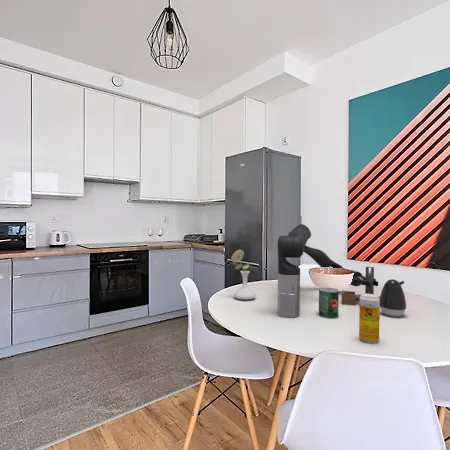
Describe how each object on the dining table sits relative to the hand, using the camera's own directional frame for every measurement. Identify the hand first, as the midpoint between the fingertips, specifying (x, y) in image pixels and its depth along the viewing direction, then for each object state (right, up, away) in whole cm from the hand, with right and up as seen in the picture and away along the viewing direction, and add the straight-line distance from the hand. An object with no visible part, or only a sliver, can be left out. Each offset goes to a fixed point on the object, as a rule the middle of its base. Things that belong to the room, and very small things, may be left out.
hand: (373, 284), depth 146 cm
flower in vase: (-60, -10, +12) cm, 62 cm away
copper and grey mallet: (-1, -10, +3) cm, 11 cm away
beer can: (-21, -11, -42) cm, 48 cm away
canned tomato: (-26, -11, -15) cm, 32 cm away
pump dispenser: (+2, -11, -13) cm, 17 cm away
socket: (-9, -10, +6) cm, 15 cm away
